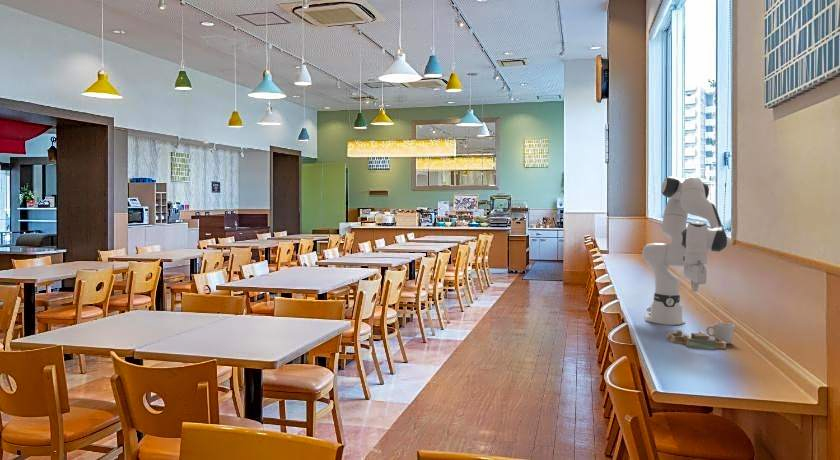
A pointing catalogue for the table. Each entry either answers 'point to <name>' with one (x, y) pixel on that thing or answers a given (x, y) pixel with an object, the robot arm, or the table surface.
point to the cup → (722, 331)
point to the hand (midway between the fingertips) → (694, 291)
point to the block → (698, 336)
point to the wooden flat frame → (696, 341)
